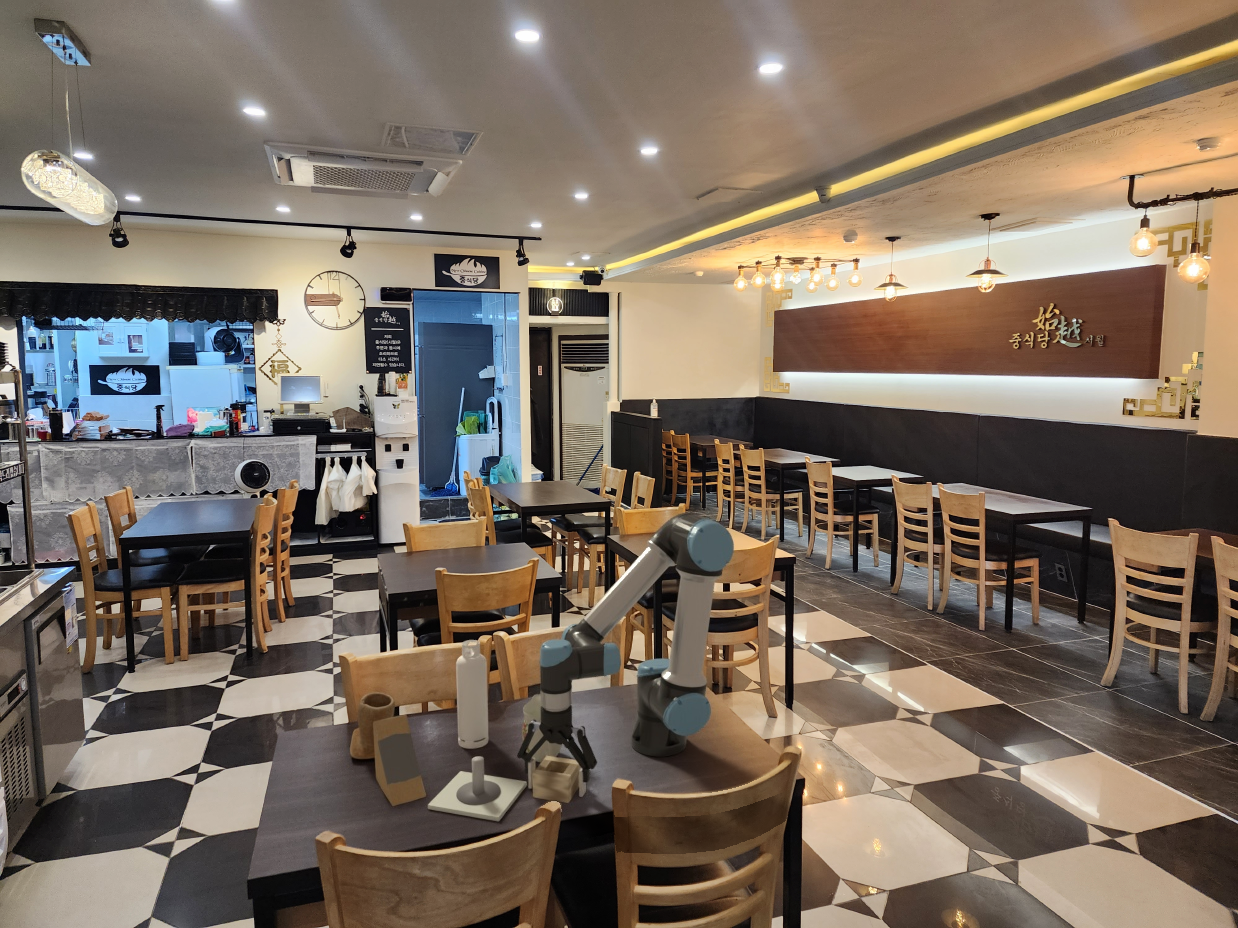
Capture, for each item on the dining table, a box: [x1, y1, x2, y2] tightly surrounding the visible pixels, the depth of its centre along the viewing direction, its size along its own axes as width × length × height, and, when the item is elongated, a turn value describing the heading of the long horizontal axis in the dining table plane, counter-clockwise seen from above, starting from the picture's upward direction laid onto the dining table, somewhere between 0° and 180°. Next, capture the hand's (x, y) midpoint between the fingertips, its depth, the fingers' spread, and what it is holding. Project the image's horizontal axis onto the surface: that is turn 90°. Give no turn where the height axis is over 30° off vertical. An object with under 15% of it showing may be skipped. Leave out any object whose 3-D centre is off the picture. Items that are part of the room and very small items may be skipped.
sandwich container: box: [373, 714, 427, 807], centre depth 192 cm, size 9×15×15 cm, turn 31°
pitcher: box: [521, 693, 563, 763], centre depth 206 cm, size 11×18×14 cm, turn 16°
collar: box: [532, 756, 581, 804], centre depth 191 cm, size 9×9×6 cm
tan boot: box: [349, 691, 396, 760], centre depth 211 cm, size 15×12×15 cm
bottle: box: [455, 639, 489, 750], centre depth 214 cm, size 8×8×28 cm
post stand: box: [427, 756, 528, 822], centre depth 187 cm, size 18×16×10 cm
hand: (557, 789), depth 191 cm, fingers open, 12 cm apart
